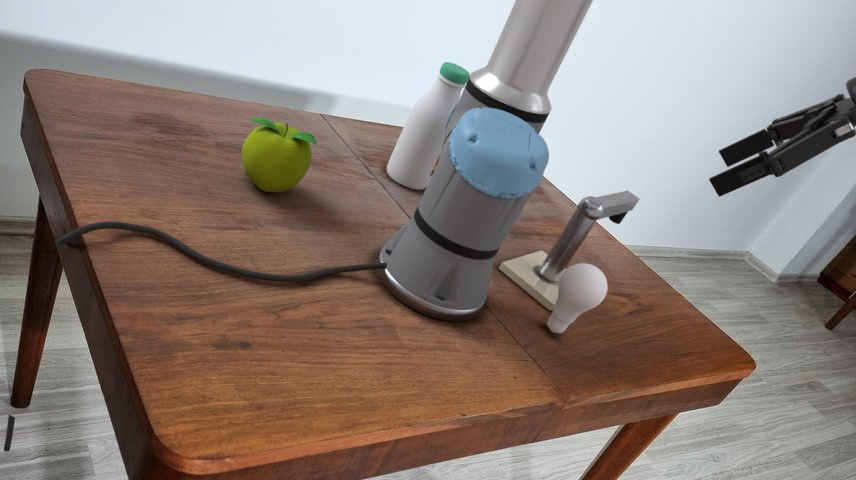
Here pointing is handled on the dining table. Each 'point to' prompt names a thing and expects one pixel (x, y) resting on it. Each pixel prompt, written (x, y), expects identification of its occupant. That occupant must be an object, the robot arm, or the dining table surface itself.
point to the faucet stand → (532, 277)
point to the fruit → (276, 155)
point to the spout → (585, 228)
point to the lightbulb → (577, 295)
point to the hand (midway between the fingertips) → (718, 172)
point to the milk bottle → (426, 129)
